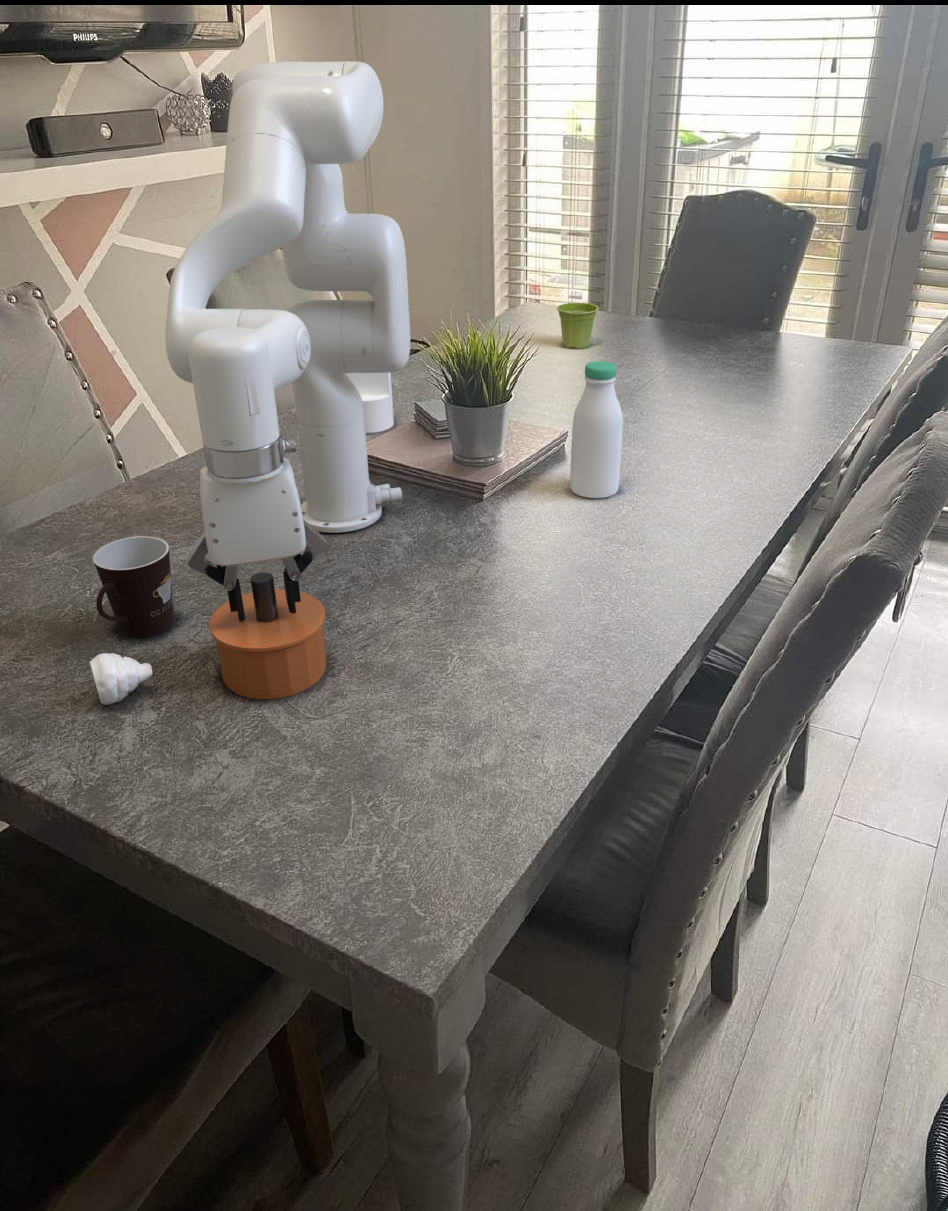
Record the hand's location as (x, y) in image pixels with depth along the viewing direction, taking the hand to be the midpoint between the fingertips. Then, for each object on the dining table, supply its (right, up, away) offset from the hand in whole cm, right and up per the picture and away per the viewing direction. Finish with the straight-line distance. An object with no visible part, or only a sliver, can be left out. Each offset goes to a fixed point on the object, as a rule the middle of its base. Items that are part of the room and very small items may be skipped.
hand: (266, 610), depth 106 cm
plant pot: (+47, +61, +118) cm, 140 cm away
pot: (0, -7, +4) cm, 8 cm away
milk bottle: (+42, +19, +46) cm, 65 cm away
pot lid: (0, -1, +1) cm, 1 cm away
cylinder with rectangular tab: (+3, +34, +74) cm, 81 cm away
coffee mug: (-18, -3, +12) cm, 22 cm away
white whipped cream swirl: (-15, -9, 0) cm, 18 cm away
